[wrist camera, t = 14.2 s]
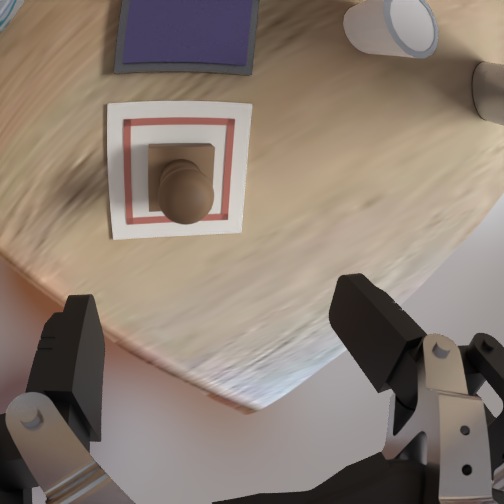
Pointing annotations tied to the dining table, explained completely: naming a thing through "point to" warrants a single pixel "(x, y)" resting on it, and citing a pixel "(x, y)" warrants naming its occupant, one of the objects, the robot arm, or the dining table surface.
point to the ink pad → (186, 36)
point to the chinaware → (8, 11)
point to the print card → (175, 131)
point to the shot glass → (392, 28)
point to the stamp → (181, 180)
